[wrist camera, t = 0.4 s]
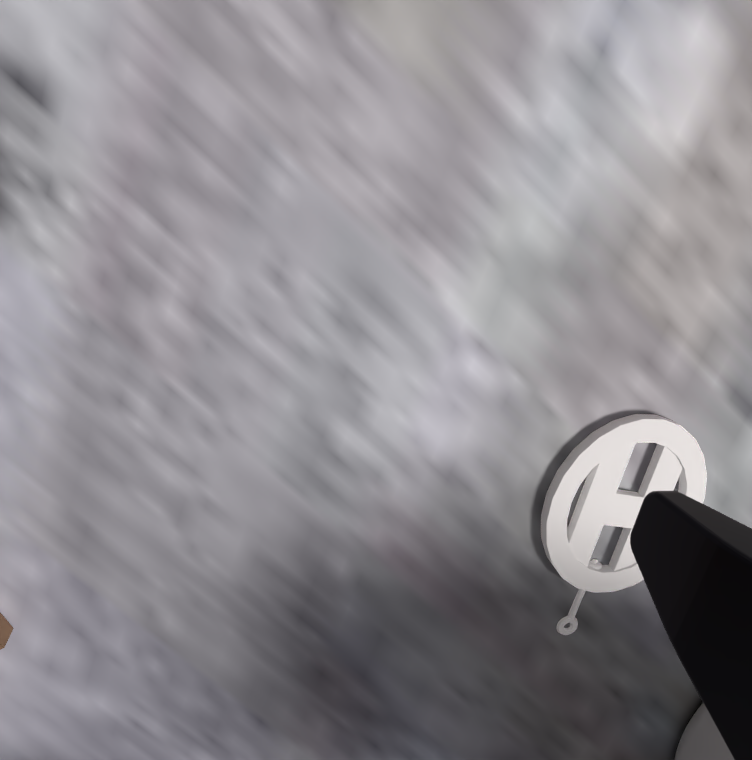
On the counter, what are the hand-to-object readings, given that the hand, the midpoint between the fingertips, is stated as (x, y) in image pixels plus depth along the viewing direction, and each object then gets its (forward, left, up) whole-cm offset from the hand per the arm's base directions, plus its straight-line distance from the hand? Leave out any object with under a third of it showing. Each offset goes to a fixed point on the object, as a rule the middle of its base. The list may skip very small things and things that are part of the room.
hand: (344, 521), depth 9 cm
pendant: (-8, -15, -15) cm, 22 cm away
